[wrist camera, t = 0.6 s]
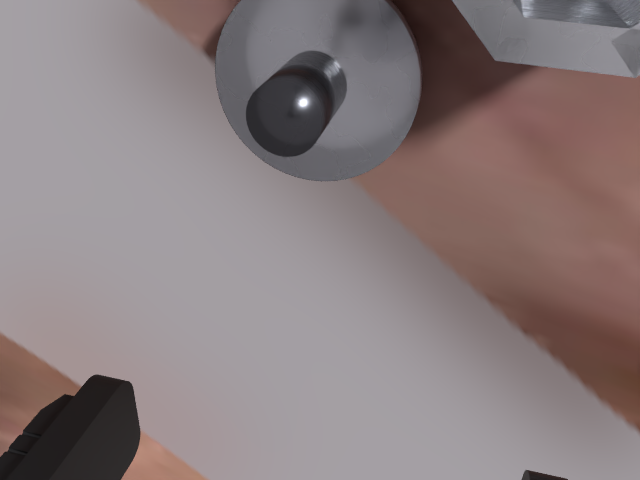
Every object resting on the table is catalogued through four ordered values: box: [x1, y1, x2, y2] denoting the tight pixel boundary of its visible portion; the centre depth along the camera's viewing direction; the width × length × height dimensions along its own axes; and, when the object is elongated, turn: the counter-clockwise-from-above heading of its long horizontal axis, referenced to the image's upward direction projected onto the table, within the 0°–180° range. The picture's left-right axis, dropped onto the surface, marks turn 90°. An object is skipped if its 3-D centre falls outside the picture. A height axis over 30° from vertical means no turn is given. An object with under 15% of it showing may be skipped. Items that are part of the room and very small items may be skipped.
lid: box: [215, 0, 423, 181], centre depth 28 cm, size 10×10×8 cm
